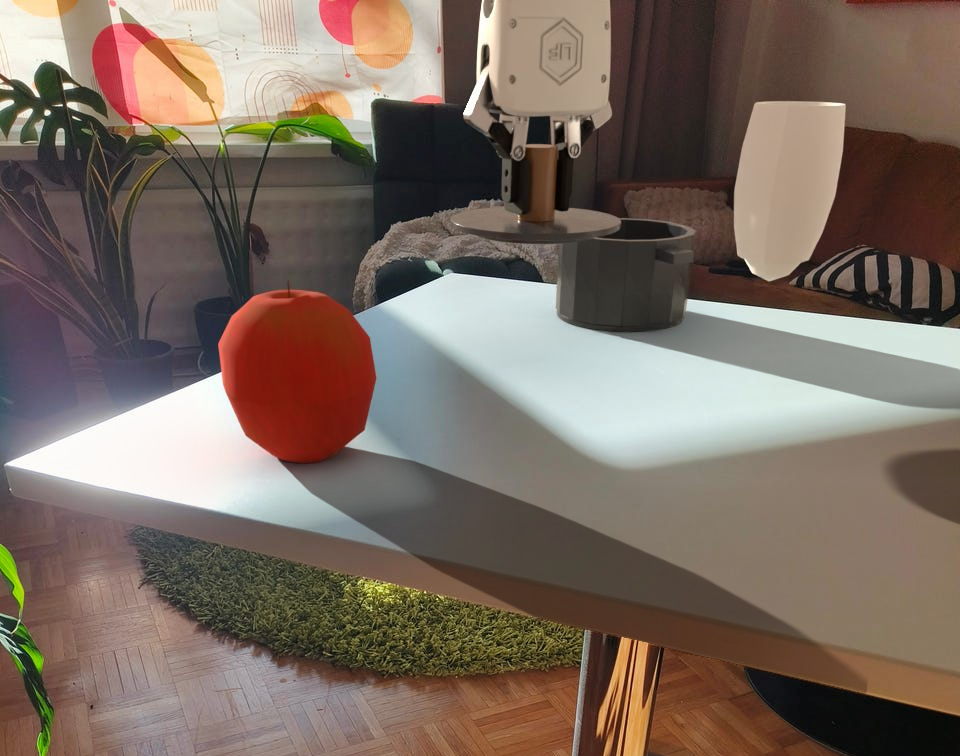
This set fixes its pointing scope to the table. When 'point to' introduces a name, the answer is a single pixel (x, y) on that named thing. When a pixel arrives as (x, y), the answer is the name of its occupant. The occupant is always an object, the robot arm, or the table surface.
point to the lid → (537, 211)
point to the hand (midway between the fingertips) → (536, 208)
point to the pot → (627, 277)
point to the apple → (298, 373)
